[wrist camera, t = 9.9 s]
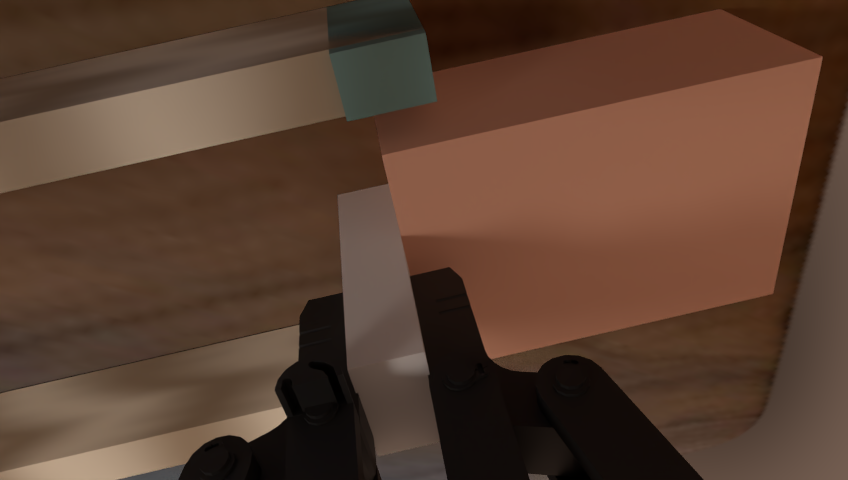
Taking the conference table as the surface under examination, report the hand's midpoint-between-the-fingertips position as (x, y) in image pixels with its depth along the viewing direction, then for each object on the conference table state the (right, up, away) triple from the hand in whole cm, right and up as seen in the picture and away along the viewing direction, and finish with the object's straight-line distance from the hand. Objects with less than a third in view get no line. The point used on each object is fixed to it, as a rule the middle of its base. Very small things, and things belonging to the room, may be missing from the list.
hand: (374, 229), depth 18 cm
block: (+5, +2, +2) cm, 6 cm away
